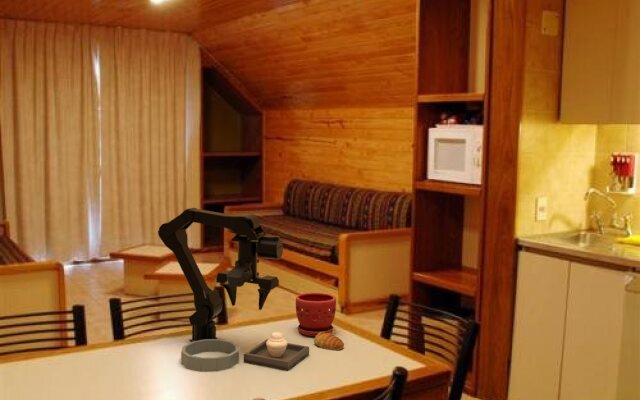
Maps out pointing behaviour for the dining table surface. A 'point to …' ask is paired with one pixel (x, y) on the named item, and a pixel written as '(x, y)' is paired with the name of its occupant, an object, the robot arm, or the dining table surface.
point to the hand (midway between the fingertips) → (246, 307)
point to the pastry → (328, 341)
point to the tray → (285, 362)
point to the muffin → (276, 344)
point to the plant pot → (315, 313)
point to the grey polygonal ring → (210, 362)
